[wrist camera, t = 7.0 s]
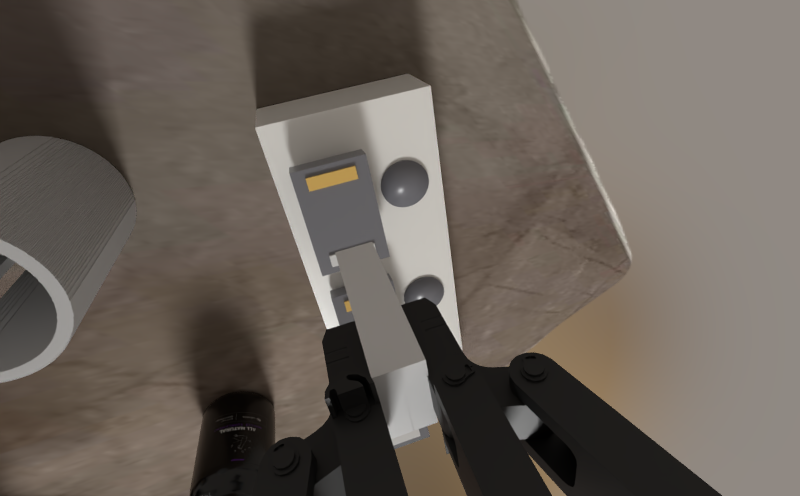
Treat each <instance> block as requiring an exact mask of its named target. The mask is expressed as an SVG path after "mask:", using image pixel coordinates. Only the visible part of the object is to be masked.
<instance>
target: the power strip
mask: <svg viewBox="0 0 800 496" xmlns="http://www.w3.org/2000/svg"><path fill="white" fill-rule="evenodd" d="M255 129H256V132H257V135H258V137H259V140H260V143H261V146H262V149H263V151H264V154H265V157H266V160H267V163H268V165H269V168H270V171H271V174H272V177H273V179H274V182H275V185H276V188H277V191H278V193H279V196H280V199H281V202H282V205H283V207H284V210H285V213H286V216H287V219H288V222H289V224H290V227H291V230H292V233H293V236H294V238H295V241H296V244H297V247H298V250H299V252H300V255H301V258H302V261H303V264H304V266H305V269H306V272H307V275H308V278H309V280H310V283H311V286H312V289H313V292H314V294H315V297H316V300H317V303H318V306H319V308H320V311H321V314H322V317H323V320H324V322H325V325H326V328H327V329H330V328H333V327H337V326H340V325H339V322H338V319H337V316H336V312H335V309H334V306H333V303H332V299H331V294H330V291H331V290H334V289H338V288H341V287H344V286H345V285H344V282H343V278H342V275H341V271H339V272H336V273H332V274H329V275H326V276H322V273H321V270H320V267H319V264H318V261H317V258H316V255H315V252H314V249H313V246H312V242H311V239H310V236H309V233H308V230H307V227H306V224H305V221H304V218H303V215H302V211H301V208H300V205H299V202H298V199H297V196H296V193H295V190H294V187H293V184H292V181H291V177H290V174H289V167H293V166H297V165H301V164H305V163H309V162H313V161H316V160H320V159H324V158H328V157H332V156H336V155H340V154H344V153H348V152H352V151H356V150H360V149H362V150H363V151H364V152H365V153H366V157H367V161H368V165H369V169H370V174H371V178H372V182H373V186H374V191H375V195H376V199H377V203H378V208H379V212H380V216H381V220H382V225H383V229H384V233H385V238H386V242H387V246H388V250H389V255H390V257H387V258H384V259H380V260H381V262H382V265H383V267H384V269H385V271H386V273H387V274H388V273H389V275H390V277H391V278H392V280H393V284H394V288H395V292H396V295H397V298H398V300H399V302H400V304H401V305H403V304H406V303H409V302H412V301H415V300H418V299H421V298H427V299H428V300H430V301H431V302H433V303H434V304H436V306H437V308H438V309H439V311H440V313H441V315H442V317H443V318H444V320H445V322H446V324H447V325H448V327H449V329H450V330H451V332H452V334H453V336H454V337H455V339H456V341H457V343H458V344H459V346H460V348H461V350H462V343H461V335H460V327H459V318H458V310H457V302H456V293H455V285H454V277H453V268H452V260H451V252H450V243H449V235H448V227H447V218H446V210H445V201H444V193H443V185H442V176H441V168H440V160H439V151H438V143H437V135H436V126H435V118H434V110H433V101H432V93H431V86H430V85H429V84H427V83H425V82H423V81H421V80H419V79H418V78H416V77H414V76H412V75H410V74H404V75H400V76H395V77H391V78H387V79H383V80H378V81H374V82H370V83H365V84H361V85H357V86H353V87H348V88H344V89H340V90H335V91H331V92H327V93H323V94H318V95H314V96H310V97H305V98H301V99H297V100H293V101H288V102H284V103H280V104H276V105H271V106H267V107H263V108H258V109H257V110H256V122H255Z"/></svg>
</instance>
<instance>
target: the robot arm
mask: <svg viewBox="0 0 800 496" xmlns="http://www.w3.org/2000/svg"><path fill="white" fill-rule="evenodd" d="M335 254H336V257H337V261H338V264H339V268H340V271H341V275H342V278H343V282H344V285H345V289H346V292H347V296H348V299H349V303H350V306H351V309H352V313H353V316H354V320H355V321H352V322H349V323H346V324H343V325H340V326H337V327H333V328H330V329H327V330H326V332H325V335H324V338H323V341H322V344H323V350H324V355H325V361H326V365H327V366H326V367H327V372H328V378H329V385H328V387H327V389H326V391H325V401H326V404H327V406H328V409H329V411H330V416H329V418H328V420H327V421H326V422H325V423H324V425H323V426H322V427H320V428H319V429H318V430H317V431H316V432H314V433H313V434H311V435H310V436H308V437H307V438H306V439H304V440H303V439H302V438H300V437H288V438H285V439H282V440H279V441H278V442H277V443H275V444H274V445H272V446H271V447H270V448H269V449H268V451H267V452H266V453H265V454H264V456H263V458H262V460H261V463H260V465H259V469H258V473H257V477H256V481H255V486H254V490H253V494H252V496H408V493H407V490H406V487H405V484H404V480H403V477H402V473H401V470H400V467H399V463H398V460H397V457H396V453H395V450H394V446H393V443H392V440H391V439H393V438H396V437H398V436H401V435H404V434H407V433H409V432H412V431H415V430H418V429H420V428H423V427H426V426H428V425H431V424H434V423H437V422H438V421H437V418H438V420H439V422H440V425H441V427H442V432H443V437H444V443H445V448H446V453H447V454H449V453H450V455H451V458H452V460H453V462H454V465H455V468H456V470H457V472H458V475H459V477H460V479H461V482H462V485H463V487H464V489H465V492H466V494H467V496H552V495H551V493H550V491H549V490H548V488H547V486H546V484H545V483H544V481H543V479H542V477H541V476H540V474H539V472H538V471H537V469H536V467H535V465H534V464H533V462H532V460H531V459H530V457H529V455H530V456H531V457H532V458H533V460H534V461H535V462H536V463H537V464H538V465H539V466H540V467H541V468H542V469H543V470H544V471H545V473H546V474H547V475H548V476H549V477H550V478H551V479H552V480H553V481H554V482H555V483H556V484H557V486H558V487H559V488H560V489H561V490H562V491H563V492H564V493H565V494H566V495H567V496H722V495H721V494H719V493H718V492H717V491H716V490H714V489H713V488H712V487H711V486H709V485H708V484H707V483H706V482H704V481H703V480H702V479H701V478H699V477H698V476H697V475H696V474H694V473H693V472H692V471H691V470H689V469H688V468H687V467H686V466H684V465H683V464H682V463H681V462H679V461H678V460H677V459H676V458H674V457H673V456H672V455H671V454H669V453H668V452H667V451H666V450H664V449H663V448H662V447H661V446H659V445H658V444H657V443H656V442H654V441H653V440H652V439H651V438H649V437H648V436H647V435H646V434H644V433H643V432H642V431H641V430H639V429H638V428H637V427H636V426H635V425H633V424H632V423H631V422H629V421H628V420H627V419H626V418H624V417H623V416H622V415H621V414H620V413H618V412H617V411H616V410H615V409H613V408H612V407H611V406H610V405H608V404H607V403H606V402H605V401H603V400H602V399H601V398H600V397H598V396H597V395H596V394H595V393H593V392H592V391H591V390H590V389H588V388H587V387H586V386H584V385H583V384H582V383H581V382H580V381H578V380H577V379H576V378H574V377H573V376H572V375H571V374H570V373H568V372H567V371H566V370H565V369H563V368H562V367H561V366H560V365H558V364H557V363H556V362H555V361H553V360H552V359H550V358H549V357H547V356H545V355H543V354H539V353H524V354H521V355H518V356H516V357H515V358H514V359H513V360H512V361H511V363H510V366H509V367H495V368H492V367H483V366H479V365H477V364H474V363H473V362H471V361H470V360H469V359H467V357H466V356H465V355H464V353H463V351H462V350H461V348H460V346H459V344H458V343H457V341H456V339H455V337H454V336H453V334H452V332H451V330H450V329H449V327H448V325H447V324H446V322H445V320H444V318H443V317H442V315H441V313H440V311H439V309H438V308H437V306H436V304H434V303H433V302H431V301H430V300H428V299H427V298H421V299H418V300H415V301H412V302H409V303H406V304H403V305H401V304H400V302H399V300H398V298H397V295H396V293H395V291H394V289H393V287H392V284H391V282H390V280H389V278H388V276H387V273H386V271H385V269H384V267H383V265H382V262H381V260H380V258H379V256H378V254H377V251H376V249H375V247H374V245H373V243H372V242H369V243H366V244H362V245H359V246H355V247H352V248H349V249H345V250H342V251H338V252H335ZM528 454H529V455H528Z"/></svg>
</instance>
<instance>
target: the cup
mask: <svg viewBox="0 0 800 496" xmlns="http://www.w3.org/2000/svg"><path fill="white" fill-rule="evenodd" d="M136 212H137V210H136V203H135V200H134V195H133V192H132V190H131V188H130V186H129V185H128V183H127V182H126V180H125V178H124V177H123V175H121V173H120V172H119V171H118V170H117V169H116V168H115V167H114V166H113V165H111V164H110V163H109V162H108V161H107V160H106V159H105V158H103V157H101V156H100V155H99V154H97V153H96V152H94V151H91V150H89V149H88V148H86V147H84V146H81V145H78V144H76V143H74V142H71V141H68V140H64V139H60V138H54V137H47V136H24V137H18V138H13V139H9V140H6V141H4V142H1V143H0V278H1V277H2V276H3V275H4V274H5V273H6V272H7V271H8V270H9V269H10V268H11V267H12V266H13V265H14V264H15V262H16V263H18V264H19V265H21V266H23V267H24V269H26V270H25V271H24V272H23V274H22V275H21V276H20V277H19V278H18V279H17V280H16V282H15V283H14V284H13V285H12V286H11V287H10V288H9V290H8V291H7V292H6V293H5V294H4V295H3V296H2V298H1V299H0V383H1V382H6V381H11V380H14V379H17V378H22V377H25V376H27V375H30V374H32V373H34V372H36V371H39V370H40V369H42V368H43V367H46V366H47V365H48V364H49V363H51V362H53V361H54V360H55V359H57V357H58V356H59V355H60V354H61V353H62V352H63V351H64V349H65V348H66V347H67V345H68V344H69V342H70V340H71V338H72V336H73V335H74V333H75V331H76V329H77V328H78V326H79V324H80V322H81V321H82V319H83V317H84V315H85V314H86V312H87V310H88V308H89V307H90V305H91V303H92V301H93V299H94V298H95V296H96V294H97V292H98V291H99V289H100V287H101V285H102V284H103V282H104V280H105V278H106V277H107V275H108V273H109V271H110V269H111V268H112V266H113V264H114V262H115V261H116V259H117V257H118V255H119V254H120V252H121V250H122V248H123V247H124V245H125V243H126V241H127V240H128V238H129V236H130V234H131V232H132V230H133V228H134V225H135V221H136V216H137V215H136Z"/></svg>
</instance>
